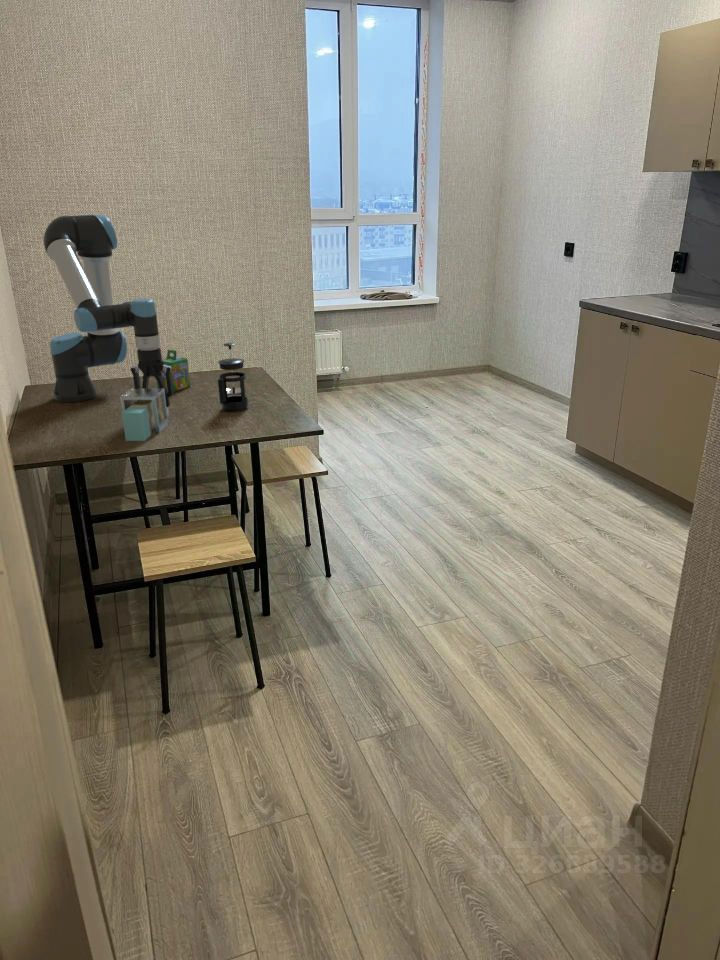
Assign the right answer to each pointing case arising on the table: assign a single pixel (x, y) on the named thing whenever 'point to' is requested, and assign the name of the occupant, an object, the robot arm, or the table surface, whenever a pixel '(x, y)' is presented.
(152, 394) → the grey open box
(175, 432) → the table surface
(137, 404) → the bar
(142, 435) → the block
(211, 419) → the table surface
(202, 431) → the table surface
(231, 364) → the french press
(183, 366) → the chalk box
